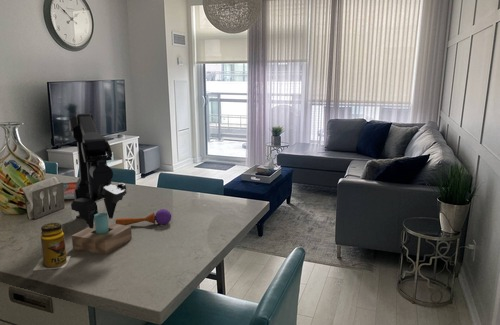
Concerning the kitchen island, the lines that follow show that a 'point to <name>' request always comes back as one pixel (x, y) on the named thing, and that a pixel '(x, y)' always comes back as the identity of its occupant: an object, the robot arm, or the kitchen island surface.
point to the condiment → (52, 247)
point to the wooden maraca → (148, 218)
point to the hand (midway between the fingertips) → (101, 223)
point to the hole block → (101, 239)
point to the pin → (101, 223)
